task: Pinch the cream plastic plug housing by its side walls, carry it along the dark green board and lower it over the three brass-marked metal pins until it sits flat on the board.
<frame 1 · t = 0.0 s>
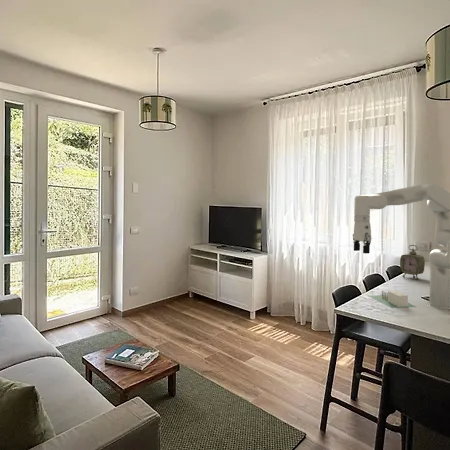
hand: (361, 251, 180), 31 cm above the counter, tool pointing down, fingers open, 9 cm apart
header board: (391, 303, 195), on the counter
tabletop clock: (412, 278, 258), on the counter
plug housing: (397, 303, 189), point 1 cm above the counter, touching header board
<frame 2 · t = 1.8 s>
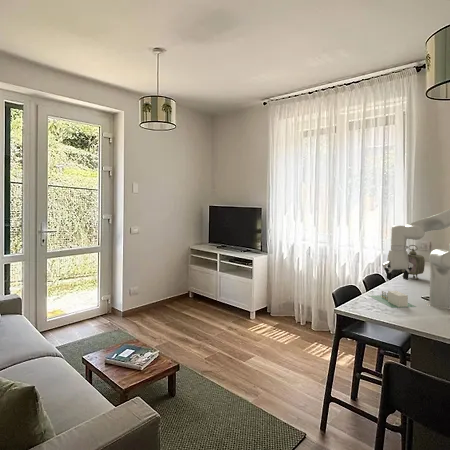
hand: (397, 279, 188), 15 cm above the counter, tool pointing down, fingers open, 9 cm apart
nothing on the counter moved.
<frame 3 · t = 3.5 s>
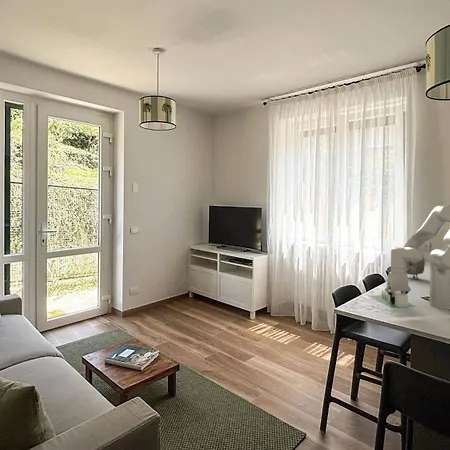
hand: (397, 302, 189), 2 cm above the counter, tool pointing down, fingers closed on plug housing, 4 cm apart
plug housing: (397, 303, 189), point 1 cm above the counter, touching gripper, header board
everything else where it was.
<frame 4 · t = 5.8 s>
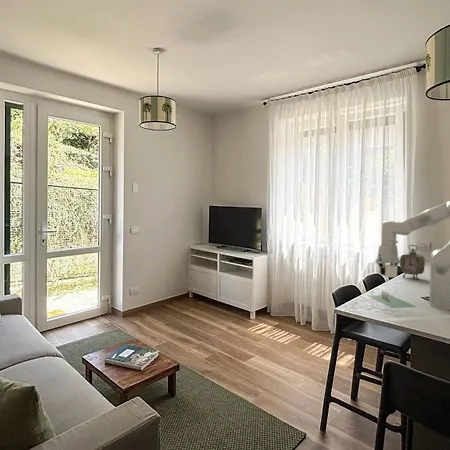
hand: (387, 274, 198), 16 cm above the counter, tool pointing down, fingers closed on plug housing, 4 cm apart
plug housing: (387, 275, 198), point 15 cm above the counter, touching gripper
everything else where it was.
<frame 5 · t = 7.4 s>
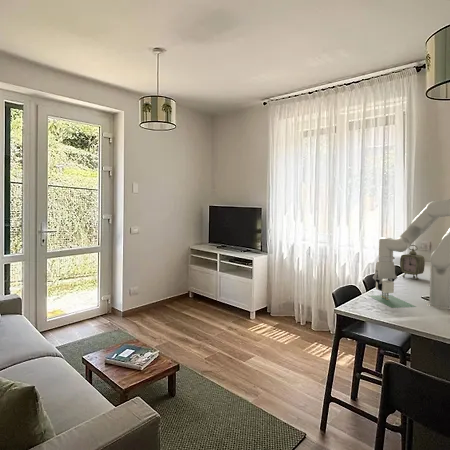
hand: (384, 289, 201), 6 cm above the counter, tool pointing down, fingers closed on plug housing, 4 cm apart
plug housing: (384, 290, 201), point 5 cm above the counter, touching gripper
everything else where it was.
when the fingers open (2 cm above the counter, at t = 8.5 s): plug housing stays where it is, resting on header board.
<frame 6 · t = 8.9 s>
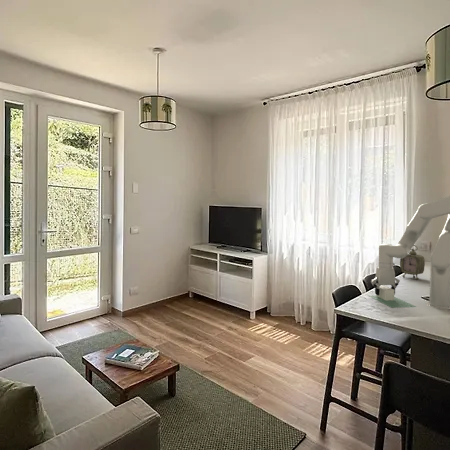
hand: (385, 294, 201), 3 cm above the counter, tool pointing down, fingers open, 9 cm apart
plug housing: (385, 298, 201), point 1 cm above the counter, touching header board
everything else where it was.
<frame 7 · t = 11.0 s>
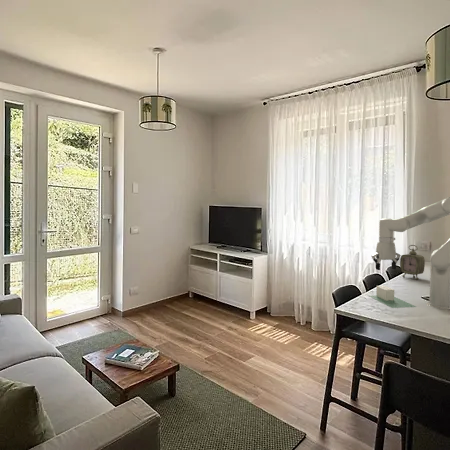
hand: (385, 269, 200), 18 cm above the counter, tool pointing down, fingers open, 9 cm apart
nothing on the counter moved.
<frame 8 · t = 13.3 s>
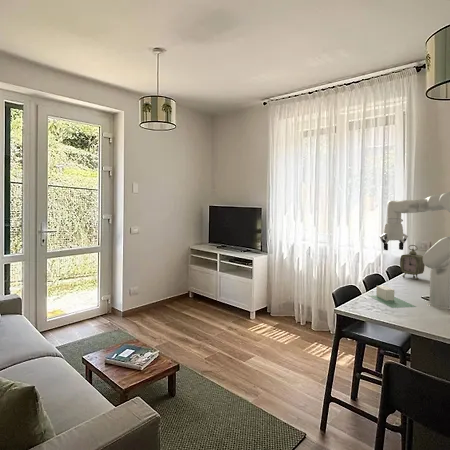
hand: (393, 249, 207), 28 cm above the counter, tool pointing down, fingers open, 9 cm apart
nothing on the counter moved.
at the end: plug housing 0.0 cm from the target spot on the header board, point 1.2 cm above the header board's base; plug housing tilted 0°; the gripper is holding nothing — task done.
